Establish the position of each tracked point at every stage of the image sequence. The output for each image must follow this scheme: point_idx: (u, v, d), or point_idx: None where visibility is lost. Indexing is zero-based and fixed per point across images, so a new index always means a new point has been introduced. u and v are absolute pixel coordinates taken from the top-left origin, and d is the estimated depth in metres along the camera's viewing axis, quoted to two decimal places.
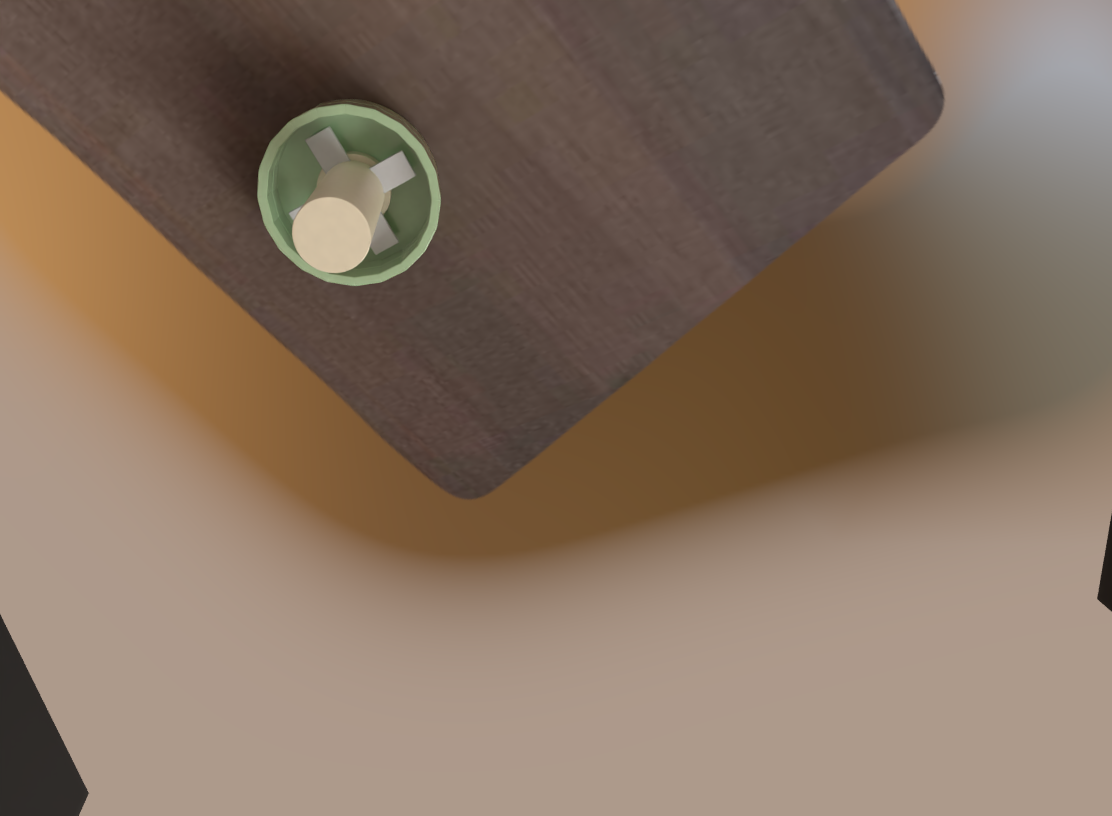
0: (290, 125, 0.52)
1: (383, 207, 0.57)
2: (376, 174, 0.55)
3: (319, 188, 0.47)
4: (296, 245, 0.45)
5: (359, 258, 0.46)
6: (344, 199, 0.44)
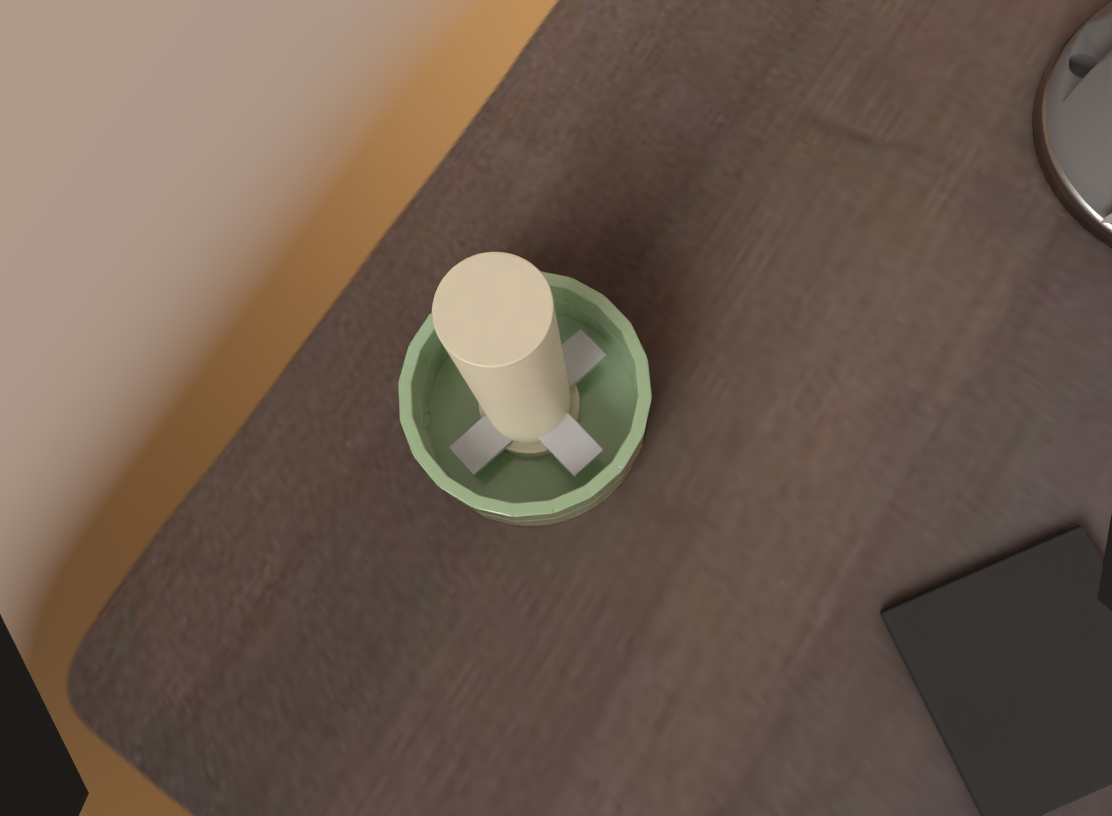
0: (599, 297, 0.39)
1: (516, 446, 0.40)
2: (562, 423, 0.39)
3: None
4: (465, 262, 0.29)
5: (465, 355, 0.28)
6: (552, 317, 0.28)
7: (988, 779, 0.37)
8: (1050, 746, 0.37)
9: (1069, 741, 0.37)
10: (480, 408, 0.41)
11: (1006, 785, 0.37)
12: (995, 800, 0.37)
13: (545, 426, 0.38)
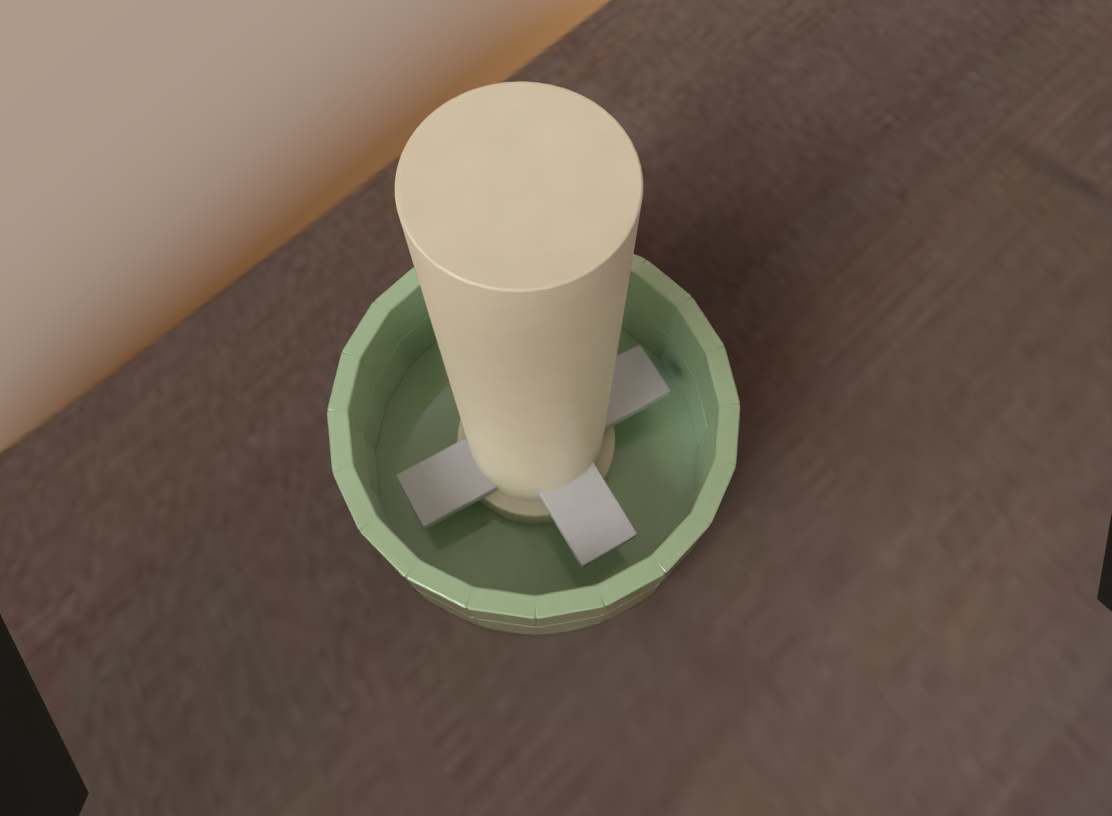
0: (683, 297, 0.25)
1: (501, 498, 0.26)
2: (581, 477, 0.24)
3: None
4: (488, 90, 0.14)
5: (442, 256, 0.13)
6: (635, 224, 0.14)
7: None
8: None
9: None
10: (460, 428, 0.26)
11: None
12: None
13: (555, 473, 0.23)
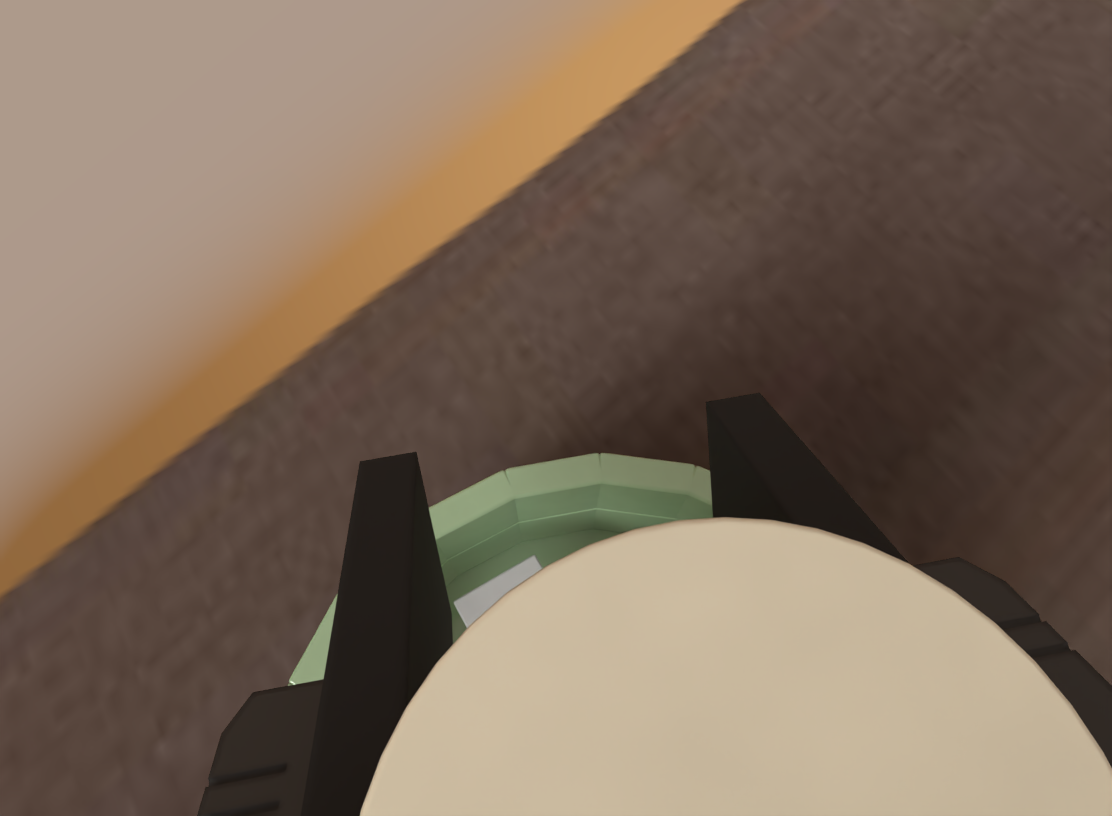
0: None
1: None
2: None
3: None
4: (629, 552, 0.05)
5: None
6: None
7: None
8: None
9: None
10: None
11: None
12: None
13: None
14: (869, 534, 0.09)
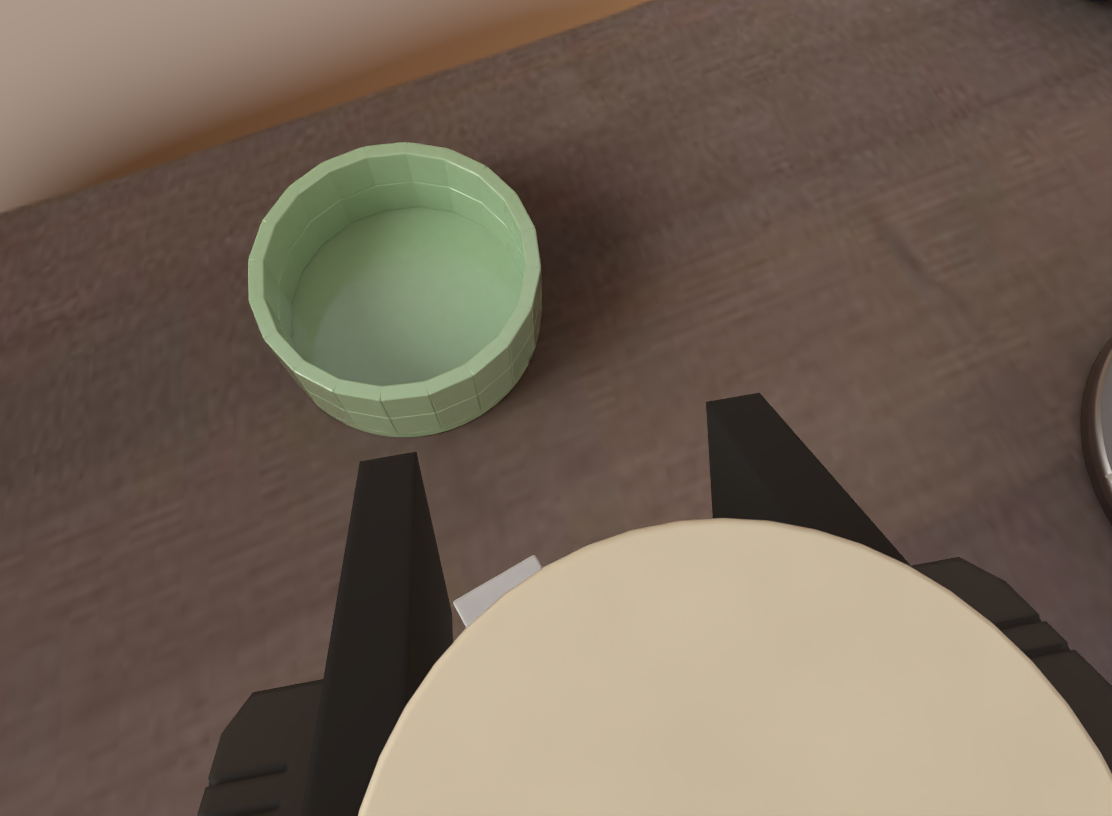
0: (528, 226, 0.34)
1: None
2: None
3: None
4: (628, 552, 0.05)
5: None
6: None
7: None
8: None
9: None
10: None
11: None
12: None
13: None
14: (869, 534, 0.09)
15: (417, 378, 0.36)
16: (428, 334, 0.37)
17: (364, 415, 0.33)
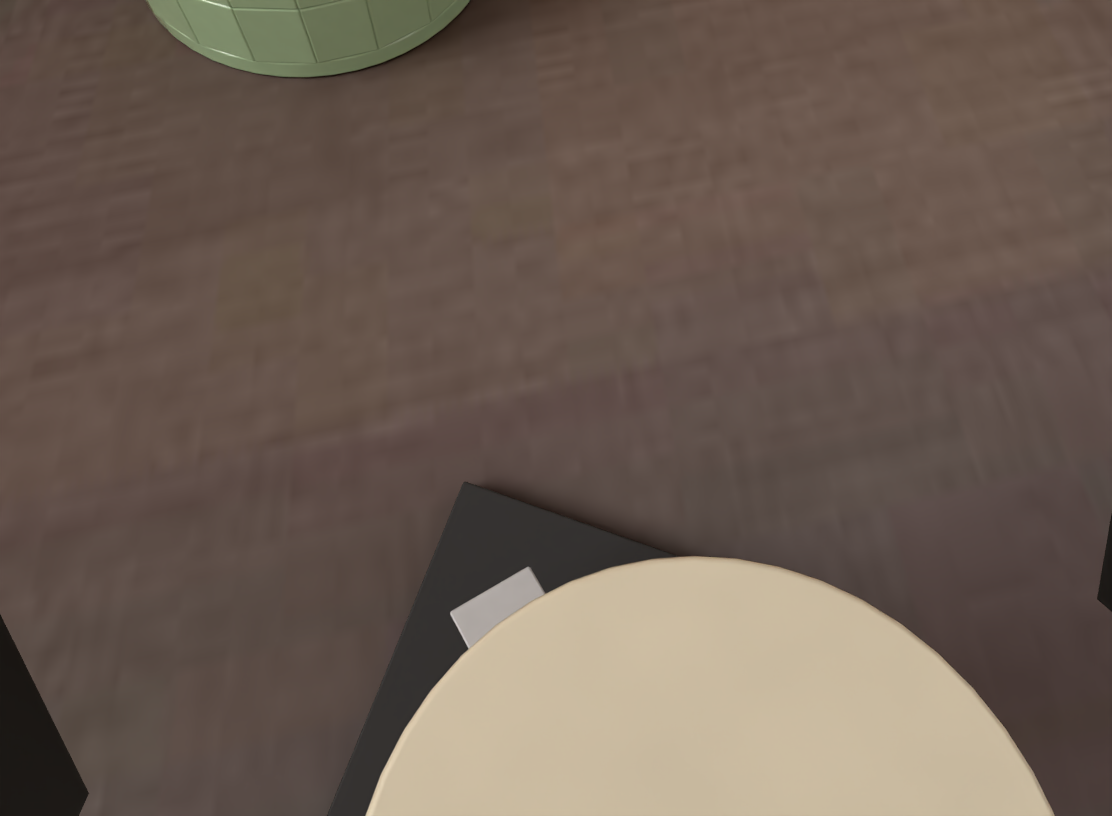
0: None
1: None
2: None
3: None
4: (607, 589, 0.05)
5: None
6: None
7: None
8: None
9: None
10: None
11: None
12: None
13: None
14: None
15: None
16: None
17: (198, 3, 0.23)
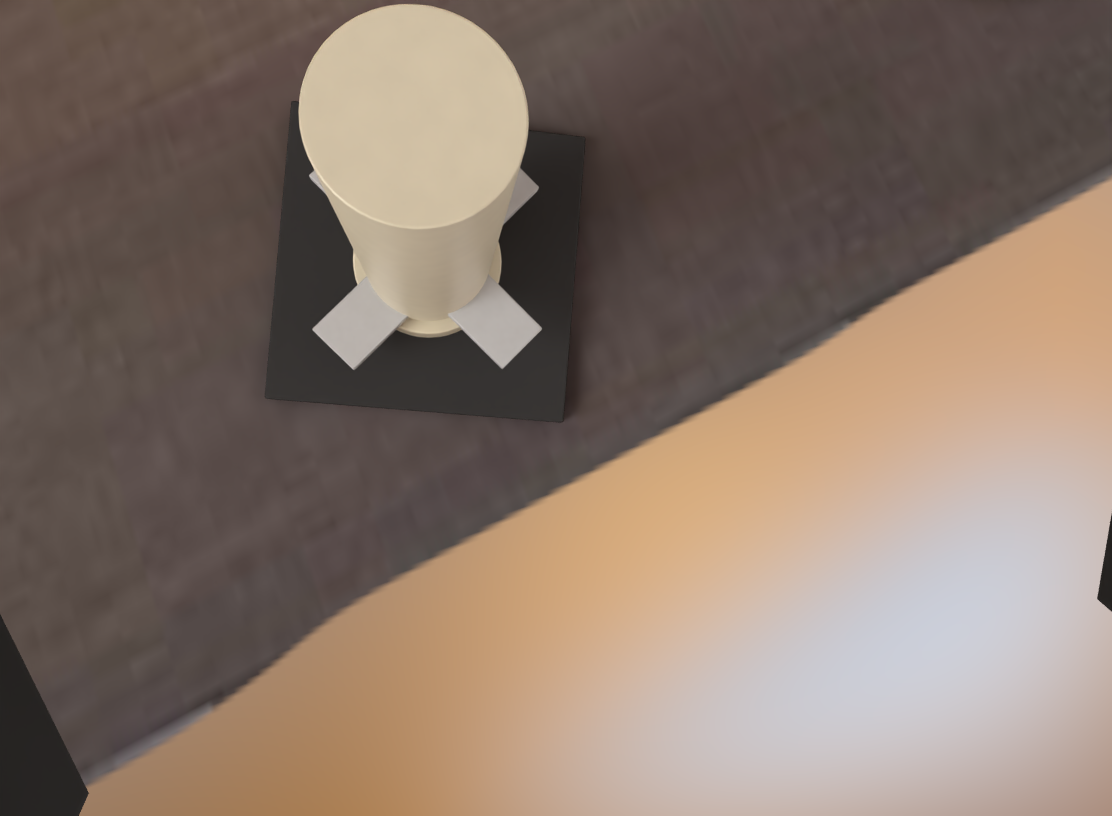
0: None
1: (413, 324, 0.28)
2: (481, 291, 0.27)
3: None
4: (357, 22, 0.15)
5: (370, 207, 0.15)
6: None
7: (295, 337, 0.29)
8: (390, 340, 0.29)
9: (415, 346, 0.29)
10: (355, 268, 0.28)
11: (312, 354, 0.29)
12: (289, 362, 0.29)
13: (462, 299, 0.25)
14: None
15: None
16: None
17: None
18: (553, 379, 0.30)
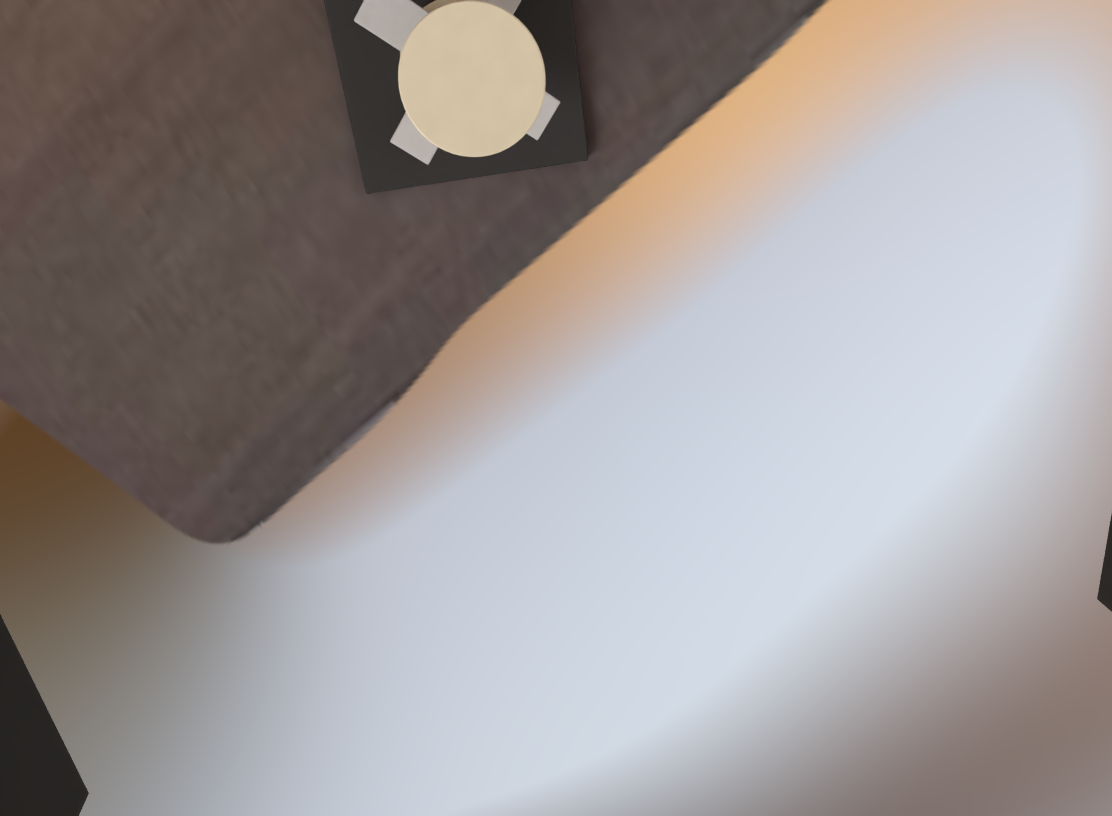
0: None
1: None
2: None
3: None
4: (421, 27, 0.23)
5: (460, 148, 0.24)
6: (544, 72, 0.24)
7: (374, 142, 0.37)
8: None
9: None
10: None
11: (390, 152, 0.38)
12: (376, 163, 0.38)
13: None
14: None
15: None
16: None
17: None
18: (574, 128, 0.38)
